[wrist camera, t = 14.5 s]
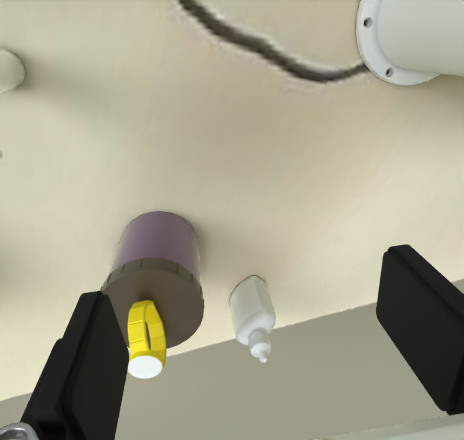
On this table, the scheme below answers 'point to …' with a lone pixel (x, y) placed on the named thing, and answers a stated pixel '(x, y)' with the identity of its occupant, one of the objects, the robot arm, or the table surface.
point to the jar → (159, 241)
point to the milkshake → (10, 71)
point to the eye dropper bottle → (253, 316)
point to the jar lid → (157, 296)
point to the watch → (142, 357)
